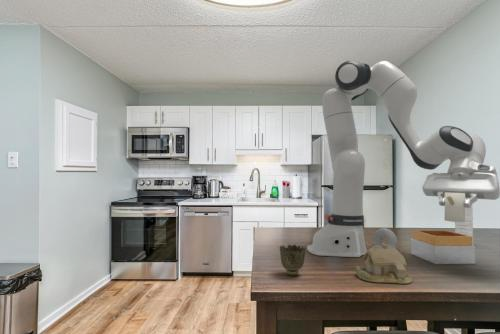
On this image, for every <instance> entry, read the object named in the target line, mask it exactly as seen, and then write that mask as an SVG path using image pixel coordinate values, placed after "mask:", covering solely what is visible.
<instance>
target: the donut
mask: <svg viewBox="0 0 500 334" xmlns="http://www.w3.org/2000/svg"><path fill="white" fill-rule="evenodd" d="M383 239H386V240H387V244H388V245H391V246H394V247H395V248H396V249H397V250H398V248H399V241H398V240H399V239H398V237H397V235H396V234H395V233H394V232H393V230H391V229H390V228H387V227H386V228H385V227H381V228H379V229H377V230H376V231H375V232H374V235H373V238H372V242H373V246H381V244H382V243H384V241H383Z"/></svg>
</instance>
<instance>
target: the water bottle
mask: <svg viewBox="0 0 500 334" xmlns="http://www.w3.org/2000/svg"><path fill="white" fill-rule="evenodd" d="M468 199H469V198H465V200H468ZM473 212H474V211H473V204H471V208H465V222H454V225H455V226H454V232H456V233H460V234H464V235H468V236H472V242H473V243H474V229H473V228H474V222H473V221H474V216H473Z"/></svg>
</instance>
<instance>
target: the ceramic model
mask: <svg viewBox="0 0 500 334" xmlns="http://www.w3.org/2000/svg"><path fill="white" fill-rule="evenodd" d="M366 250H367V249H366ZM362 260H363V262H364V266H360V265H356V266H355V273H356V276H357V278H359V279H360V280H364V281H367V282H373V283H391V284H410V283H412V282H413V278H412V277H411V276H410V275H409V274H407V273H406V272H407V268H406V266H407V261H406V258H405V256H404V255H403V254H401V252H400V251H399V250H398V248H397V249H396V248H395V247H394V246H391V245H388V242H383V243H382V244H381V246H375V245H372V246H371V248H369V249H368V250H367V251H366V253H365V254H364V255H363V258H362Z"/></svg>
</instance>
